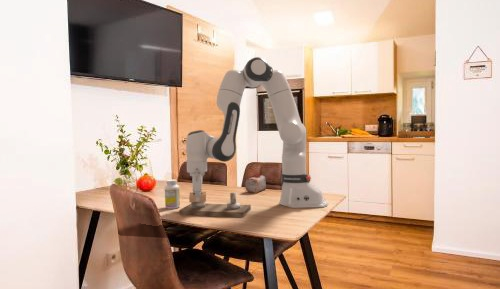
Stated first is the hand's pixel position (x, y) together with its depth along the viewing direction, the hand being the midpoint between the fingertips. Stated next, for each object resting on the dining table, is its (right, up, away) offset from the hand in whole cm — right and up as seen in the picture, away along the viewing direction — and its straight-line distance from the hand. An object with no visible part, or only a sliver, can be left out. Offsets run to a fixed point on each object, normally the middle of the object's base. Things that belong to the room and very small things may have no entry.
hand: (197, 199), depth 157 cm
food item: (+26, -3, +46) cm, 53 cm away
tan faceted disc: (0, -1, 0) cm, 0 cm away
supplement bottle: (-13, -6, +10) cm, 17 cm away
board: (+8, -5, -1) cm, 10 cm away
